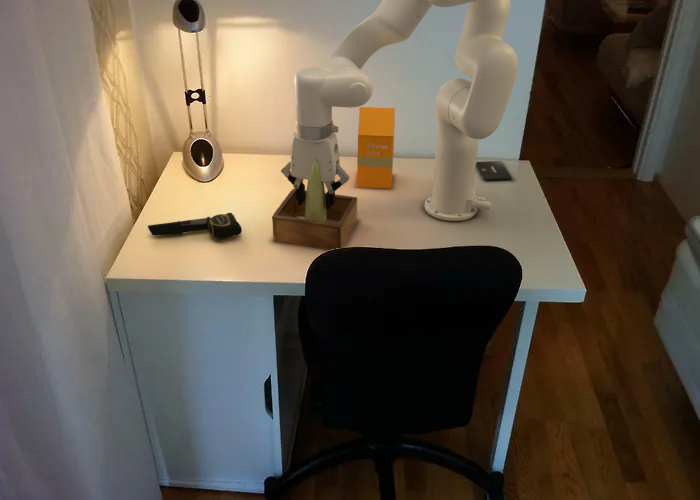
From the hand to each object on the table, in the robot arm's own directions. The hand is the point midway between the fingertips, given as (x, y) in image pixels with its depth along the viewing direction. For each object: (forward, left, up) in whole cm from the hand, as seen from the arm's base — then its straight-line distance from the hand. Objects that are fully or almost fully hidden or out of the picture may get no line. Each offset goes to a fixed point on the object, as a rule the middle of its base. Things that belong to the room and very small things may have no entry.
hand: (315, 203), depth 155 cm
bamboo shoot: (0, 0, -7) cm, 7 cm away
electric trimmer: (+28, +9, -7) cm, 30 cm away
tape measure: (+19, +7, -7) cm, 21 cm away
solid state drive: (-36, -42, -7) cm, 56 cm away
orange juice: (-7, -28, -7) cm, 30 cm away
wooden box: (0, 0, -7) cm, 7 cm away
